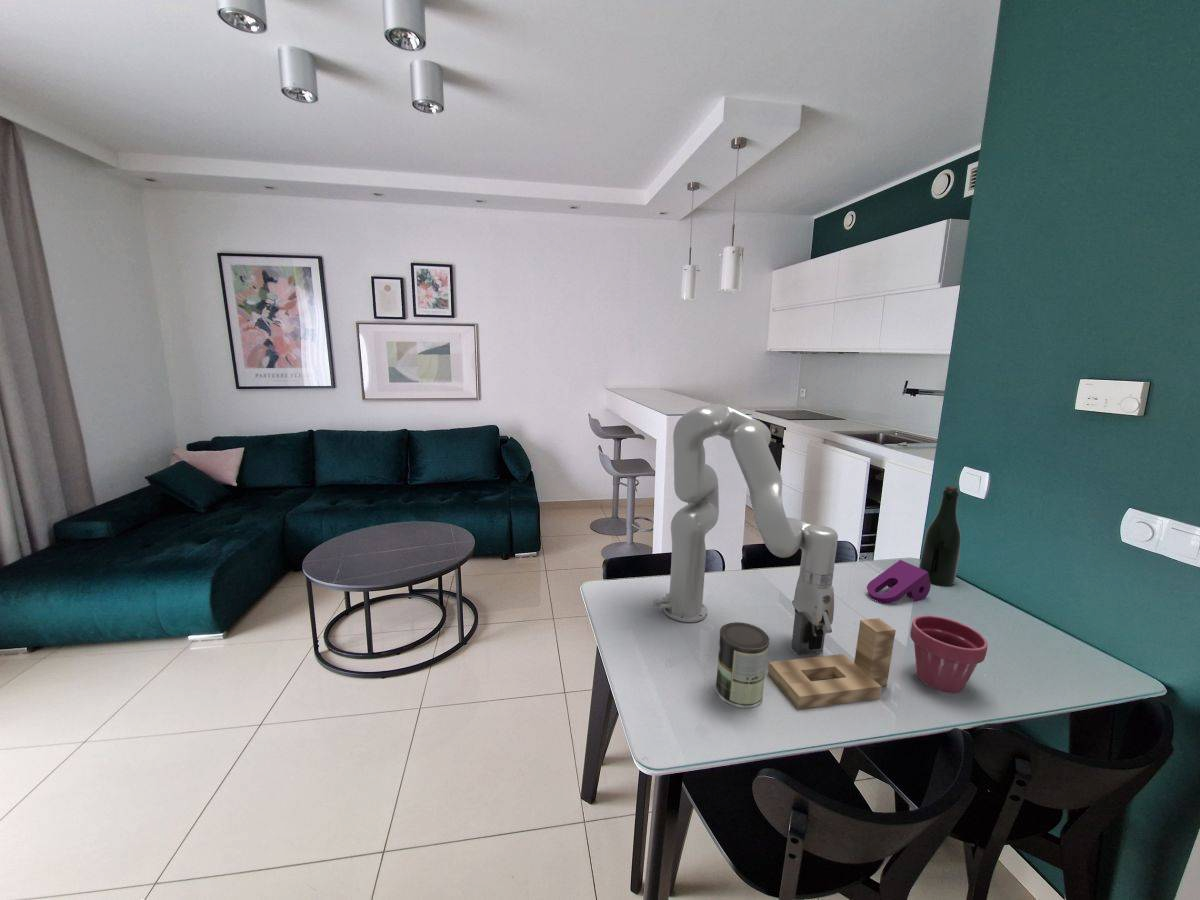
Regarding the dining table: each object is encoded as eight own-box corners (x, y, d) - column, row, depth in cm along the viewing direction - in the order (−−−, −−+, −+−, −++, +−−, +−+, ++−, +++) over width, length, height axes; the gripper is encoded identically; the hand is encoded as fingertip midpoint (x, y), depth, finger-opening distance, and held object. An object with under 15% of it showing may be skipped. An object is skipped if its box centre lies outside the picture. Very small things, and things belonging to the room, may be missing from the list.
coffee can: (706, 693, 108) (711, 635, 105) (727, 671, 116) (732, 616, 113) (752, 716, 102) (758, 655, 99) (770, 691, 110) (776, 633, 107)
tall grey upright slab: (797, 655, 123) (802, 618, 121) (791, 648, 126) (795, 612, 124) (822, 652, 125) (827, 616, 123) (815, 645, 128) (819, 610, 126)
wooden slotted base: (798, 709, 104) (805, 649, 101) (767, 673, 116) (773, 619, 113) (898, 695, 109) (908, 638, 107) (860, 662, 121) (868, 610, 118)
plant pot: (983, 682, 115) (993, 632, 112) (970, 711, 105) (981, 657, 103) (913, 654, 125) (921, 608, 122) (896, 678, 115) (904, 628, 113)
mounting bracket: (891, 623, 151) (932, 592, 155) (886, 602, 148) (928, 571, 152) (865, 608, 159) (904, 579, 164) (860, 588, 157) (900, 559, 161)
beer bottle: (953, 578, 170) (969, 486, 164) (955, 589, 161) (973, 493, 155) (917, 570, 176) (932, 481, 169) (917, 581, 167) (933, 487, 161)
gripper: (853, 590, 114) (843, 661, 118) (808, 560, 130) (801, 623, 134) (824, 592, 113) (815, 664, 116) (782, 562, 129) (776, 625, 132)
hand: (807, 641), depth 125 cm, fingers open, 4 cm apart
